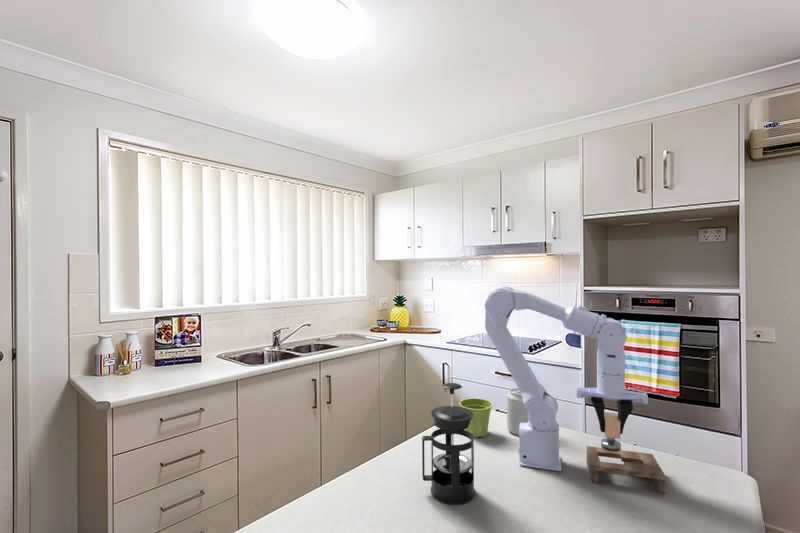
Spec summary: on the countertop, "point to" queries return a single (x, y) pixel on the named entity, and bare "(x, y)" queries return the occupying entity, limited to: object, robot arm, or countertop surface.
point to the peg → (611, 432)
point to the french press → (451, 454)
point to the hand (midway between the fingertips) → (611, 431)
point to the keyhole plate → (626, 465)
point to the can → (515, 411)
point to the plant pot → (478, 415)
